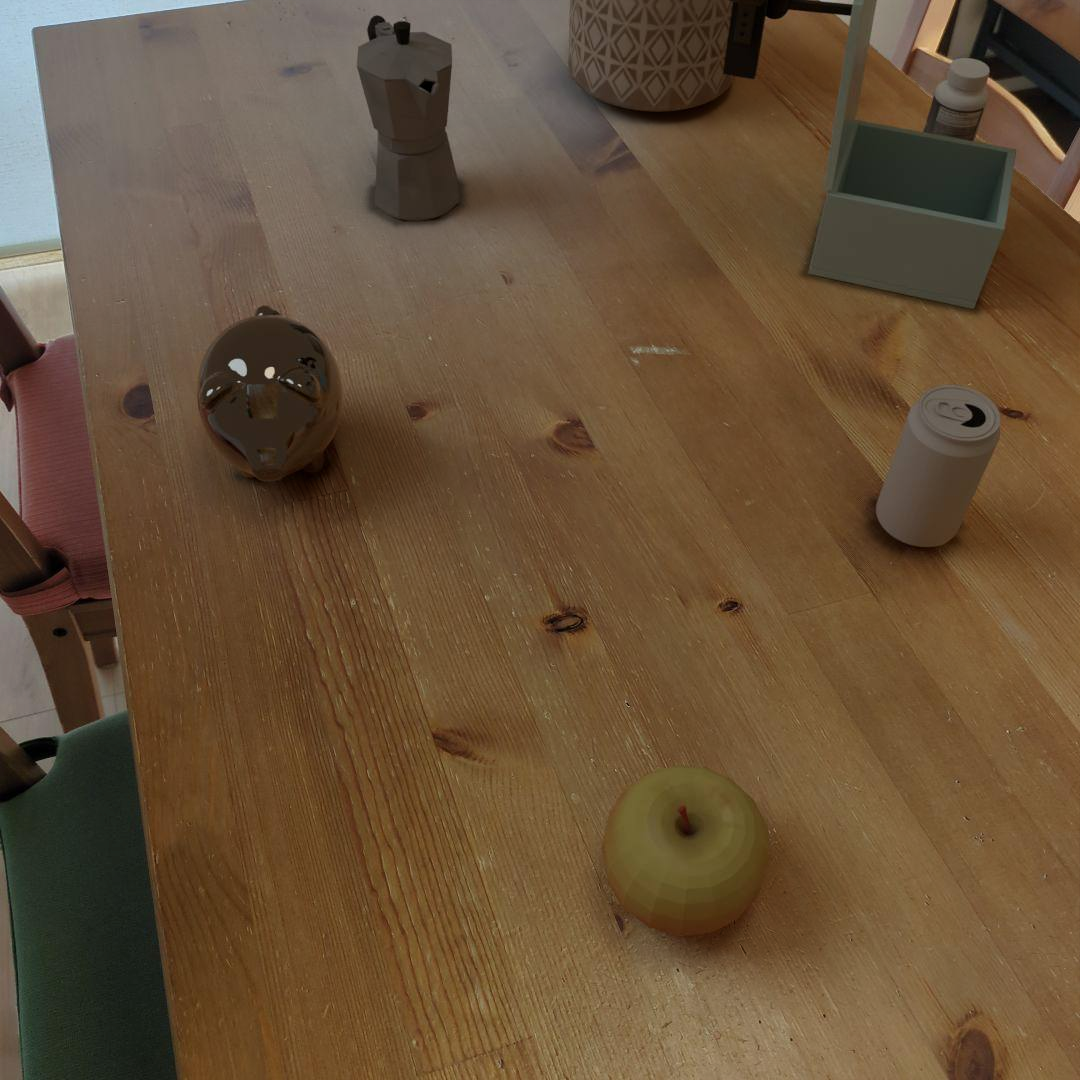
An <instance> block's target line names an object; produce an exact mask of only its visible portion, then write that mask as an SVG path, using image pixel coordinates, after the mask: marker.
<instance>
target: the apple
mask: <svg viewBox="0 0 1080 1080" xmlns="http://www.w3.org/2000/svg"><path fill="white" fill-rule="evenodd" d="M603 835H604V836H603V841H602V846H601V851H602V858H603V864H604V868H605V874H606V879H607V883H608V886H609V888H610V889H611V890H612V892H613V894H614V895H615V896H616V898H617V899H618V901H619V903H620V904H621V906H622V907H623V909H624V910H625V911H627V912H628V913H629V914H631V915H632V916H633V917H634V918H636V919H637V920H639V921H640V922H641V923H643V924H644V925H646V926H647V927H648V928H651V929H654V930H658V931H660V932H661V931H662V932H665V933H667V934H673V935H676V936H679V937H681V936H691V935H703V934H704V935H705V934H711V933H713V932H715V931H718V930H720V929H721V928H723V927H725V926H727V925H729V924H731V923H734V922H736V921H737V920H738V919H739V918H741V916H742V915H743V913H744V912H745V911H747V909H748V907H749V906H750V905H751V904H752V903H753V902H754V901H755V900H756V898H757V897H758V895H759V894H760V892H761V889H762V886H763V882H764V880H765V876H766V873H767V869H768V866H769V863H770V857H771V849H770V842H769V841H770V839H769V830H768V825H767V823H766V821H765V818H764V817H763V815H762V812H761V811H760V809H759V807H758V805H757V803H756V801H755V800H754V798H753V797H751V796H750V795H749V794H748V793H747V792H746V791H745V790H744V789H743V788H742V787H740V785H738V783H736V782H735V781H734V780H733V779H732V778H731V777H729V776H727V775H724V774H722V773H720V772H718V771H716V770H713V769H711V768H709V767H706V766H699V765H686V764H675V765H671V766H667V767H663V768H659V769H656V770H652V771H649V772H647V773H645V774H644V775H643V776H641V777H640V778H638V779H637V780H635V781H634V782H632V783H631V784H629V785H628V786H626V787H625V788H624V790H622V793H621V794H620V796H618V798H617V800H616V801H615V802H614V804H613V806H612V807H611V809H610V810H609V812H608V816H607V819H606V825H605V831H604V834H603Z"/></svg>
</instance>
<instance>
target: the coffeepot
mask: <svg viewBox="0 0 1080 1080" xmlns="http://www.w3.org/2000/svg"><path fill="white" fill-rule="evenodd" d="M366 32H367V36H368V37H367V38H368V41H366V42H365V43H363V44H361V45H359V46H357V56H356V57H357V59H356V70H357V72H358V76H359V80H360V83H361V86H362V90H363V93H364V97H365V101H366V105H367V108H368V111H369V115H370V119H371V122H372V123H371V124H372V126H373V129H374V130H376V131H377V145H376V146H377V147H376V167H375V168H376V171H375V189H374V190H375V192H374V206H375V207H377V208H378V209H379V210H380V211H381V212H383V213H385V214H386V215H388V216H390V217H391V218H394V219H395V218H396V219H397V220H398V219H399V220H404V221H410V222H411V221H415V222H416V221H417V222H418V221H419V222H420V221H427V220H432V219H436V218H438V217H441V216H443V215H445V214H448V212H450V211H451V210H453V209H454V208H455V206H456V205H457V204H459V203H460V182H459V178H458V173H457V170H456V165H455V161H454V156H453V153H452V150H451V145H450V141H449V137H448V132H447V131H446V127H447V126H448V116H449V106H450V105H449V104H450V91H451V82H452V68H453V50H452V49H453V48H452V43H451V42H447V41H445V40H443V39H441V38H438V37H437V36H434V35H432V34H429V33H427V32H426V31H411V22H409V21H407V20H399V21H396V22H394V23H393V25H392V24H391V23H390V22H389V21H387V20H386V19H385V18H384V17H383V16H381V15H378V14H377V15H373V16H372V17H370V20H369V21H368V25H367V27H366Z"/></svg>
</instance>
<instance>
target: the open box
mask: <svg viewBox="0 0 1080 1080" xmlns="http://www.w3.org/2000/svg"><path fill="white" fill-rule="evenodd" d="M1016 157H1017V149H1016V148H1011V147H1005V146H1000V145H995V144H990V143H984V142H978V141H968V140H963V139H958V138H952V137H947V136H941V135H936V134H930V133H925V132H923V131H919V130H913V129H909V128H908V129H907V128H902V127H898V126H893V125H887V124H881V123H875V122H870V121H864V120H859V119H855V122H854V125H853V128H852V131H851V134H850V137H849V141H848V144H847V147H846V150H845V153H844V156H843V159H842V162H841V165H840V168H839V171H838V174H837V177H836V180H835V183H834V186H833V189H832V190H828V189H827V192H826V197H825V200H824V204H823V209H822V213H821V217H820V222H819V226H818V231H817V234H816V239H815V242H814V247H813V251H812V254H811V260H810V263H809V267H808V272H807V273H808V275H812V276H817V277H820V278H821V277H822V278H827V279H831V280H835V281H840V282H845V283H850V284H854V285H858V286H862V287H866V288H867V287H868V288H873V289H877V290H882V291H887V292H891V293H894V294H895V293H896V294H900V295H904V296H909V297H914V298H919V299H924V300H928V301H933V302H938V303H943V304H946V305H952V306H957V307H961V308H966V309H971V310H974V309H975V307H976V305H977V302H978V300H979V297H980V294H981V292H982V289H983V287H984V284H985V282H986V279H987V277H988V274H989V272H990V269H991V266H992V264H993V261H994V259H995V256H996V253H997V252H998V248H999V245H1000V243H1001V241H1002V238H1003V236H1004V233H1005V230H1006V224H1007V218H1008V212H1009V211H1008V210H1009V206H1010V205H1009V204H1010V196H1011V190H1012V185H1013V176H1014V171H1015V170H1014V169H1015V163H1016Z"/></svg>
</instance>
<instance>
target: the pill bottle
mask: <svg viewBox="0 0 1080 1080" xmlns="http://www.w3.org/2000/svg"><path fill="white" fill-rule="evenodd" d="M990 72H991V70H990V67H989V66H988V64H986V63H985V62H983V61H982V60H979V59H975V58H969V57H960V58H957V59H954V60H952V61H951V63H950V64H949V66H948V69H947V72H946V79H944V80H942V81H941V82H939V84H938V85H937V86H936V88H935V91H934V94H933V98H932V102H931V105H930V108H929V110H928V111H929V112H928V115H927V118H926V122H925V124H924V127H923V131H922V132H925V133H930V134H936V135H941V136H947V137H952V138H958V139H963V140H968V141H974V142H976V141H975V140H976V137H977V135H978V132H979V128H980V125H981V122H982V119H983V117H984V113H985V110H986V108H987V104H988V101H989V92H988V89H987V88H986V85H987V83H988V81H989V80H988V79H989V76H990Z"/></svg>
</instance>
